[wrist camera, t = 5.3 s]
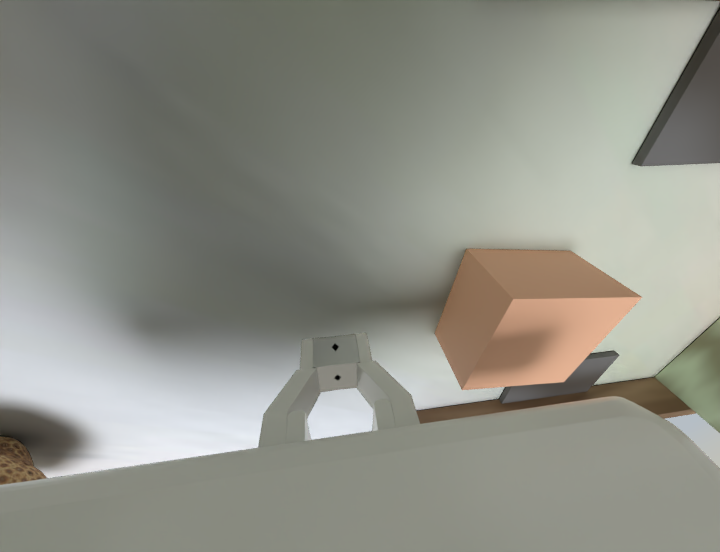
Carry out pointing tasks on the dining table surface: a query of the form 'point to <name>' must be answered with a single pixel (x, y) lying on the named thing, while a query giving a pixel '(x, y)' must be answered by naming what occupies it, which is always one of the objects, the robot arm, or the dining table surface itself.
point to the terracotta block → (526, 316)
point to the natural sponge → (16, 463)
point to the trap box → (709, 351)
